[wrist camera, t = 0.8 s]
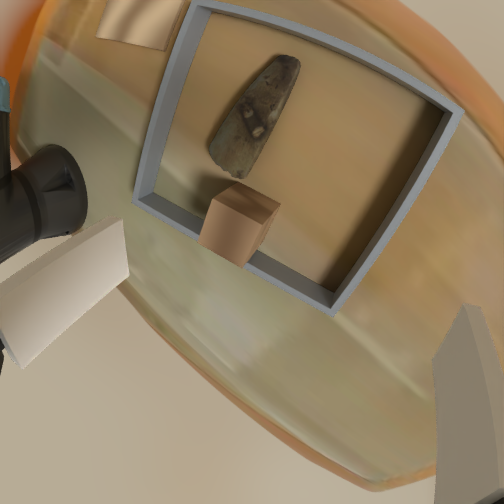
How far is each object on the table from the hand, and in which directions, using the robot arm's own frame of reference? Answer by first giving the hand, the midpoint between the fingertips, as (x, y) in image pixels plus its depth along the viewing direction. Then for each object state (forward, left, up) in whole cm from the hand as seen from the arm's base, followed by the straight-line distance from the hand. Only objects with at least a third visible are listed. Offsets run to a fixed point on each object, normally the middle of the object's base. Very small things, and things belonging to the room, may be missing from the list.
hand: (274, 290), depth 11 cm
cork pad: (-28, +11, -21) cm, 36 cm away
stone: (-5, +4, -20) cm, 21 cm away
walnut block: (-6, -8, -21) cm, 23 cm away
